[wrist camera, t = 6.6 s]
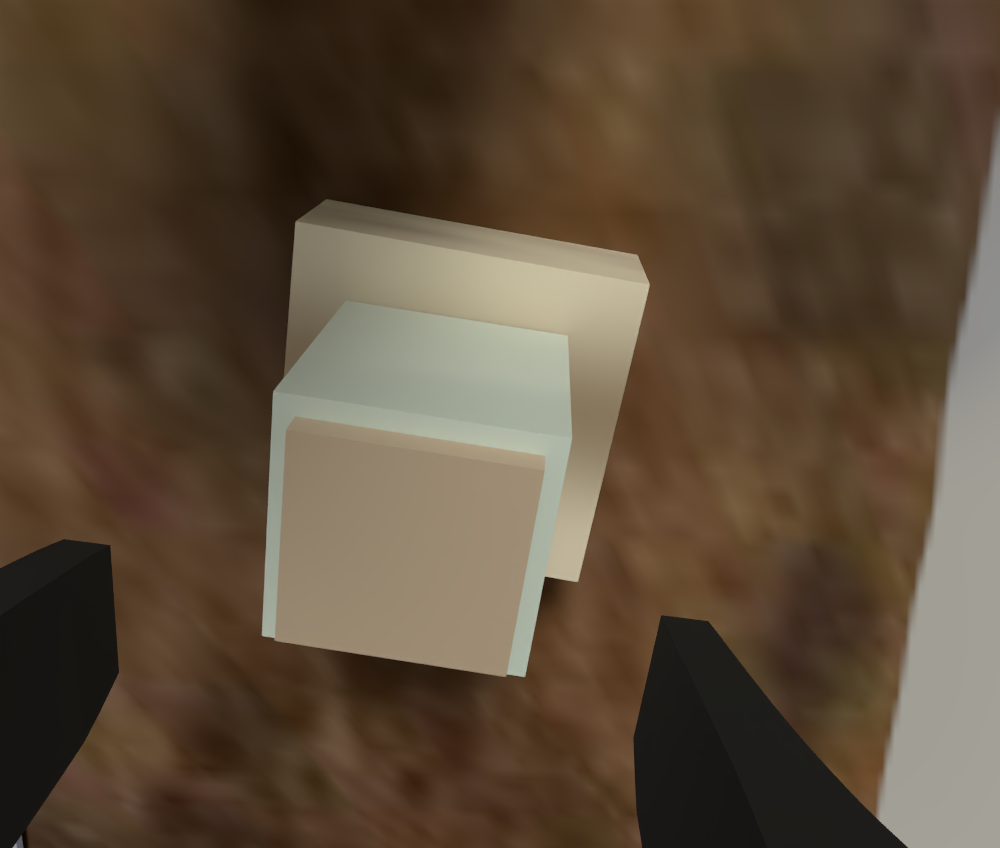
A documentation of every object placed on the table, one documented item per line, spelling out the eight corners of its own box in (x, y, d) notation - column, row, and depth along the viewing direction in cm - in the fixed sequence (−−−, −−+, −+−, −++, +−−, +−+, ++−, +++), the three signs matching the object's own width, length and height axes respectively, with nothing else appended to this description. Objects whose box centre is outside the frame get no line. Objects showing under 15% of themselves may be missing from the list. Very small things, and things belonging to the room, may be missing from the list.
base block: (574, 516, 23) (577, 582, 20) (305, 470, 23) (272, 529, 20) (635, 251, 20) (649, 284, 17) (330, 196, 20) (295, 221, 17)
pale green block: (531, 527, 20) (524, 697, 15) (330, 496, 20) (252, 654, 15) (567, 335, 18) (573, 452, 13) (346, 300, 18) (262, 403, 13)
